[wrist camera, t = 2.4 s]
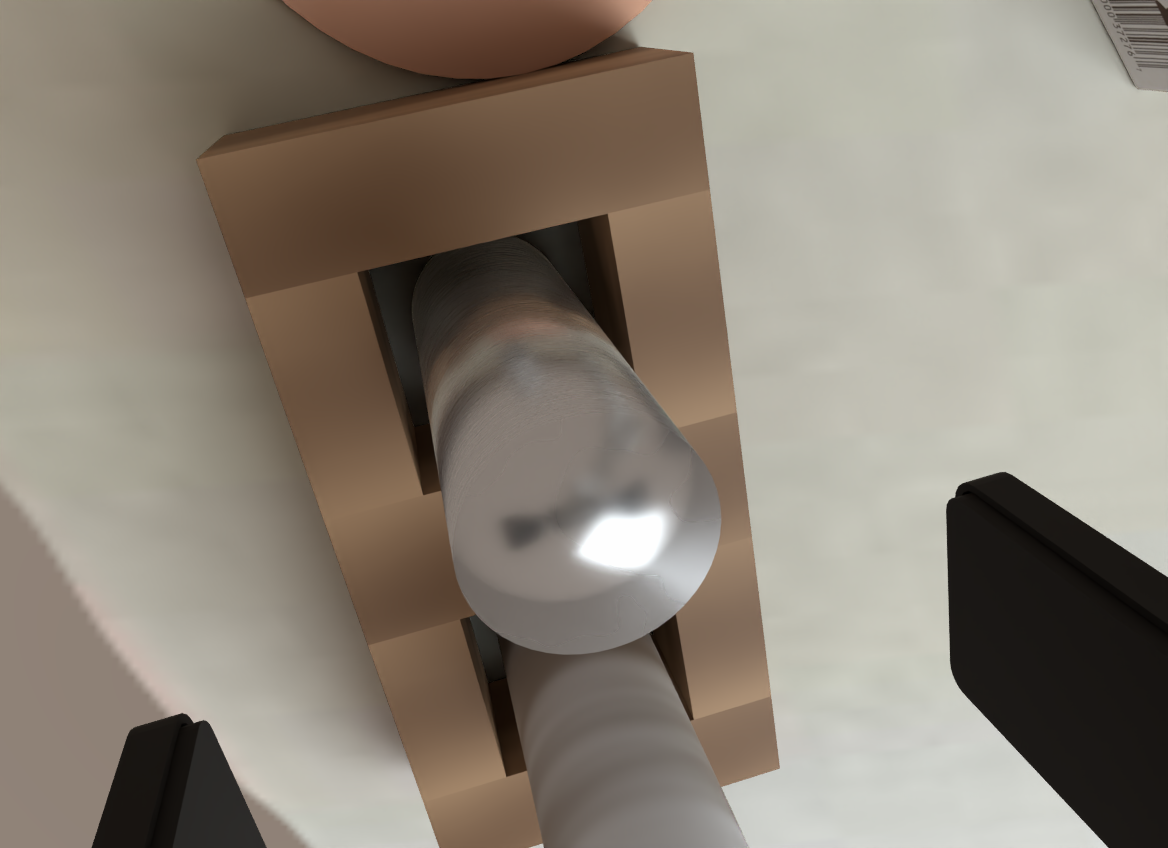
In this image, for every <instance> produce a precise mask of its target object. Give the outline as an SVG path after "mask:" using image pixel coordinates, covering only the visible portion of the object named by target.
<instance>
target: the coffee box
mask: <svg viewBox="0 0 1168 848" xmlns="http://www.w3.org/2000/svg"><path fill="white" fill-rule="evenodd" d="M1091 1H1092V2H1093V4H1094V6H1095V8H1096V10H1097V12H1098V14H1099V16H1100V18H1101V20H1102V22H1103V24H1104V26H1105V28H1106V30H1107V32H1108V34H1109V36H1110V37H1111V39H1112V41H1113V43H1114V45H1115V47H1116V49H1117V51H1118V53H1119V56H1120V57H1121V59H1122V61H1123V63H1124V65H1125V67H1126V69H1127V71H1128V73H1129V75H1130V77H1131V79H1132V81H1133V83H1134V85H1135V86H1136V87H1137V89H1140V90H1152V91H1163V92H1168V0H1091Z"/></svg>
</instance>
